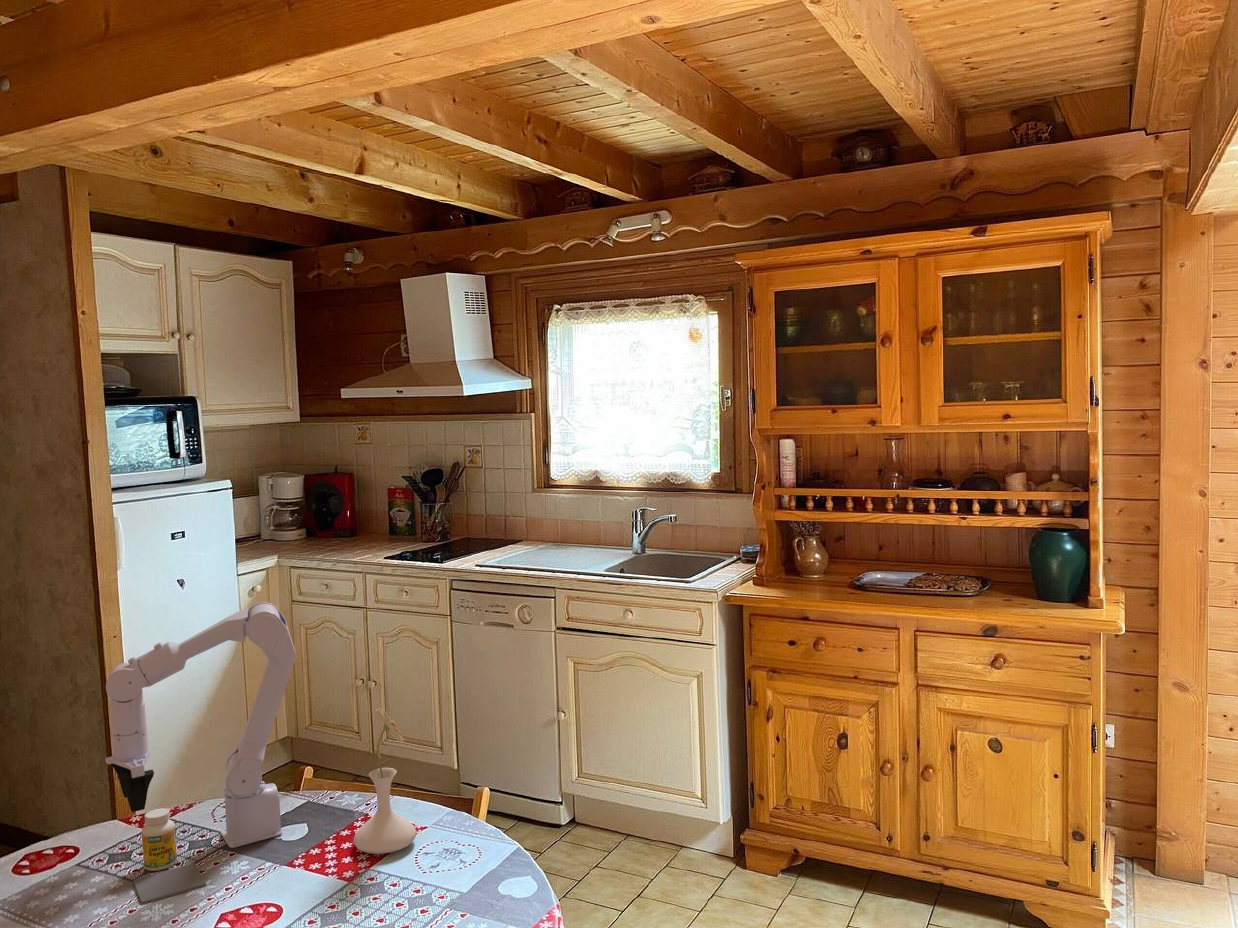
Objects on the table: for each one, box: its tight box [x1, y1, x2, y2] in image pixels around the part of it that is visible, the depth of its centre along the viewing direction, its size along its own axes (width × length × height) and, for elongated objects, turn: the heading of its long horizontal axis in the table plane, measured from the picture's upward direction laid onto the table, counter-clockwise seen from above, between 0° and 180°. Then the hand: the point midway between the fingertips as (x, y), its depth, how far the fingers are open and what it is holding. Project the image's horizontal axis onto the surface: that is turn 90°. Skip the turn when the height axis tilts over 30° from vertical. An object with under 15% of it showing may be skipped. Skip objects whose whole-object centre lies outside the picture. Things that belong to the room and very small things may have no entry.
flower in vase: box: [352, 707, 417, 855], centre depth 178 cm, size 13×11×25 cm
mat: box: [132, 862, 207, 905], centre depth 166 cm, size 10×9×1 cm
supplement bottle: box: [141, 807, 178, 872], centre depth 173 cm, size 5×5×10 cm
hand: (134, 802), depth 176 cm, fingers open, 7 cm apart
